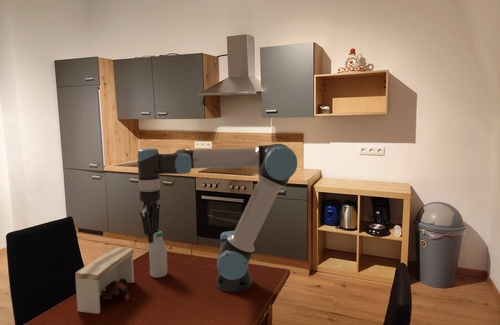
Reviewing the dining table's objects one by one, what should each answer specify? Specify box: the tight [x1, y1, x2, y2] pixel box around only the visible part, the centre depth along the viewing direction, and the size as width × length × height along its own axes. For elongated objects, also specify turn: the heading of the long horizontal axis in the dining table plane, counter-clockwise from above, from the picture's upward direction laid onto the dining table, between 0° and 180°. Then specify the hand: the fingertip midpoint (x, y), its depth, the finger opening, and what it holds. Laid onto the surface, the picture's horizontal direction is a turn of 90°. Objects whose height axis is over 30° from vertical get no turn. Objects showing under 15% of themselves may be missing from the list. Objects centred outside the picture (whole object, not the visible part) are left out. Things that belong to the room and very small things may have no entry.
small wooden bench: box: [74, 246, 135, 315], centre depth 149 cm, size 9×26×15 cm, turn 169°
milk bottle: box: [148, 230, 168, 279], centre depth 168 cm, size 8×8×20 cm
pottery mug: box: [101, 278, 131, 302], centre depth 148 cm, size 12×10×8 cm
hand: (152, 249), depth 144 cm, fingers closed
